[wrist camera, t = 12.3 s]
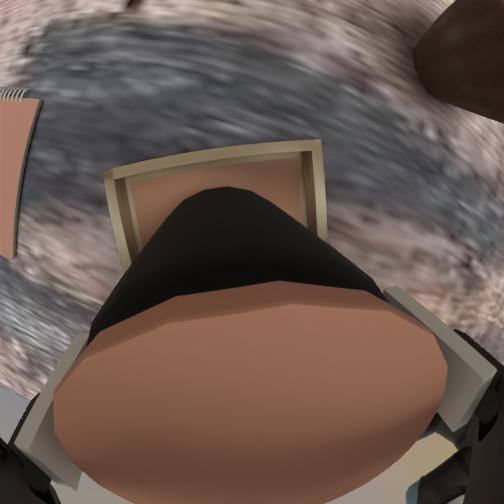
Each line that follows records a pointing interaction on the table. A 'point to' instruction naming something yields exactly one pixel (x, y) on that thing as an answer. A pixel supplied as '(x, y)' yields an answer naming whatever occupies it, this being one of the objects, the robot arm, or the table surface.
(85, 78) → the table surface
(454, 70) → the plant pot
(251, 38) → the table surface
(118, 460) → the coffee jar
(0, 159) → the notebook
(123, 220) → the bay tray
